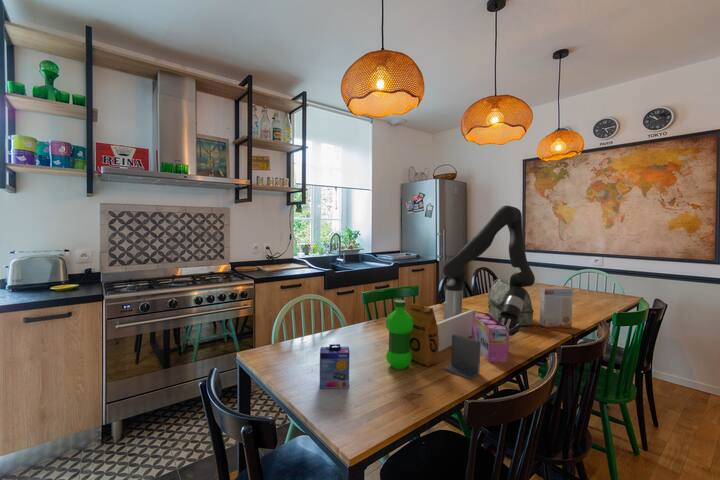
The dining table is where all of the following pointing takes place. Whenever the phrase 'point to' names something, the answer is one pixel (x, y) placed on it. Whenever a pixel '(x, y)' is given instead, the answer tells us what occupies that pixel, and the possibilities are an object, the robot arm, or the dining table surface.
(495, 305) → the lunch bag
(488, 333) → the gum box
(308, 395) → the dining table surface
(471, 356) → the bookend
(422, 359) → the coffee package
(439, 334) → the shelf wall
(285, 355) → the dining table surface
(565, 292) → the cracker box
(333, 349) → the ink cartridge box
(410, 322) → the plastic bottle
